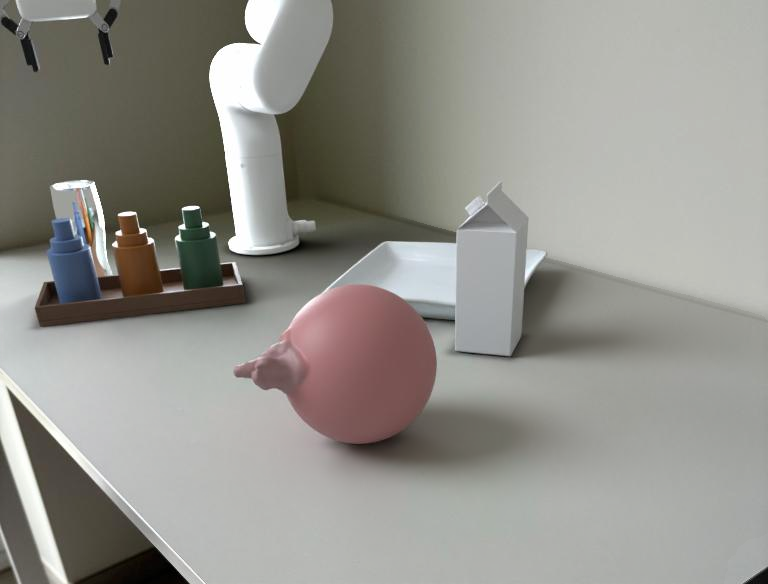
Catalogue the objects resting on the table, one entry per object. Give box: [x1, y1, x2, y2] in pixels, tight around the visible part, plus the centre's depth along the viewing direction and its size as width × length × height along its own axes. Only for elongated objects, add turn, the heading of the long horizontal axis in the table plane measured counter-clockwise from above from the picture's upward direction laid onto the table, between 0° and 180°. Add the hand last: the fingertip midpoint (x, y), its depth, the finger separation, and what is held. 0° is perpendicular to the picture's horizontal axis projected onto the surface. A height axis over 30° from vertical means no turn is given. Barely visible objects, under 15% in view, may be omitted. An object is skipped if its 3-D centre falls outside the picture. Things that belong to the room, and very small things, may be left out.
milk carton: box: [454, 180, 529, 357], centre depth 97 cm, size 7×7×19 cm
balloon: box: [232, 284, 438, 445], centre depth 78 cm, size 15×20×15 cm
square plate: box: [320, 240, 548, 321], centre depth 118 cm, size 27×27×4 cm
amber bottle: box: [111, 211, 164, 297], centre depth 117 cm, size 6×6×12 cm
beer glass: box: [49, 179, 114, 276], centre depth 126 cm, size 7×7×15 cm
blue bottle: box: [46, 218, 102, 304], centre depth 116 cm, size 6×6×12 cm
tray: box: [34, 261, 246, 327], centre depth 120 cm, size 29×12×3 cm, turn 104°
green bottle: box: [174, 205, 224, 290], centre depth 119 cm, size 6×6×12 cm
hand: (72, 68), depth 113 cm, fingers open, 9 cm apart
